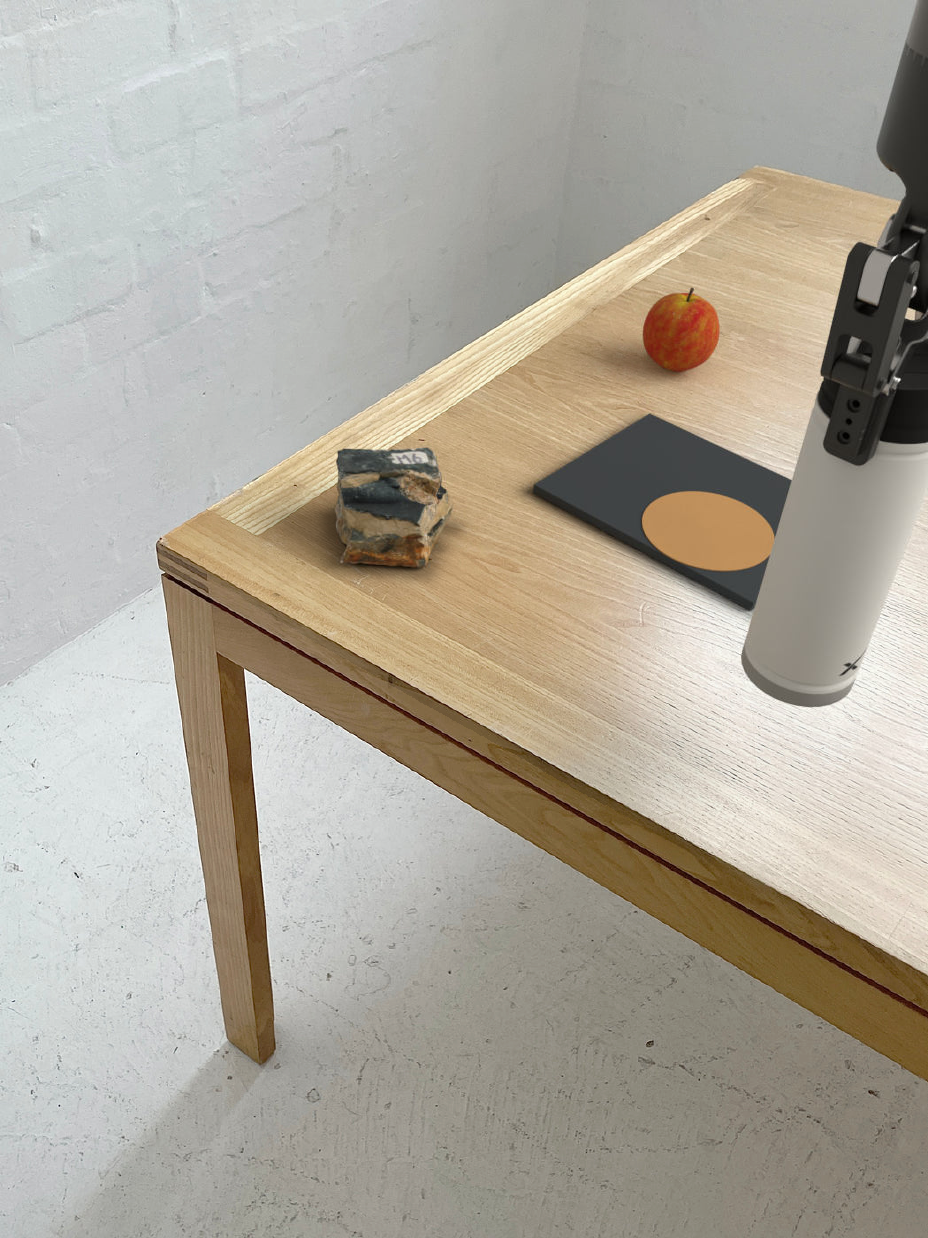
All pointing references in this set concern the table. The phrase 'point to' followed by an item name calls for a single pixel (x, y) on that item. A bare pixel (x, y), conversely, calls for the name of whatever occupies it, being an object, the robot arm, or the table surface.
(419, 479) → the rock
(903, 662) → the table surface
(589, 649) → the table surface
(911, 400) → the travel mug
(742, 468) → the mat
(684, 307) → the fruit
